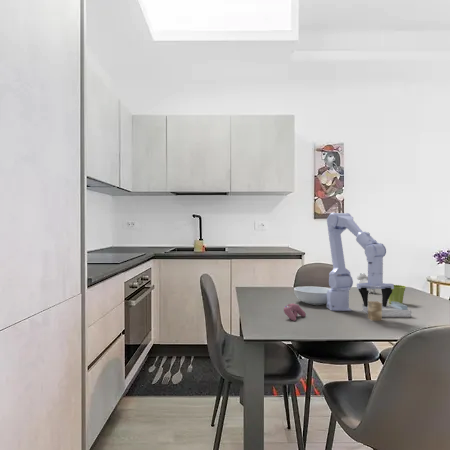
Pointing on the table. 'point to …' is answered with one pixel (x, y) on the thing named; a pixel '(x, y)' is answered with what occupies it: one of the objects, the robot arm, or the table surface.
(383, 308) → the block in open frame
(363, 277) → the dog figurine
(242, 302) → the table surface
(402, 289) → the plant pot
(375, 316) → the tan tall block
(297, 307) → the video game controller
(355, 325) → the table surface
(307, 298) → the serving bowl
